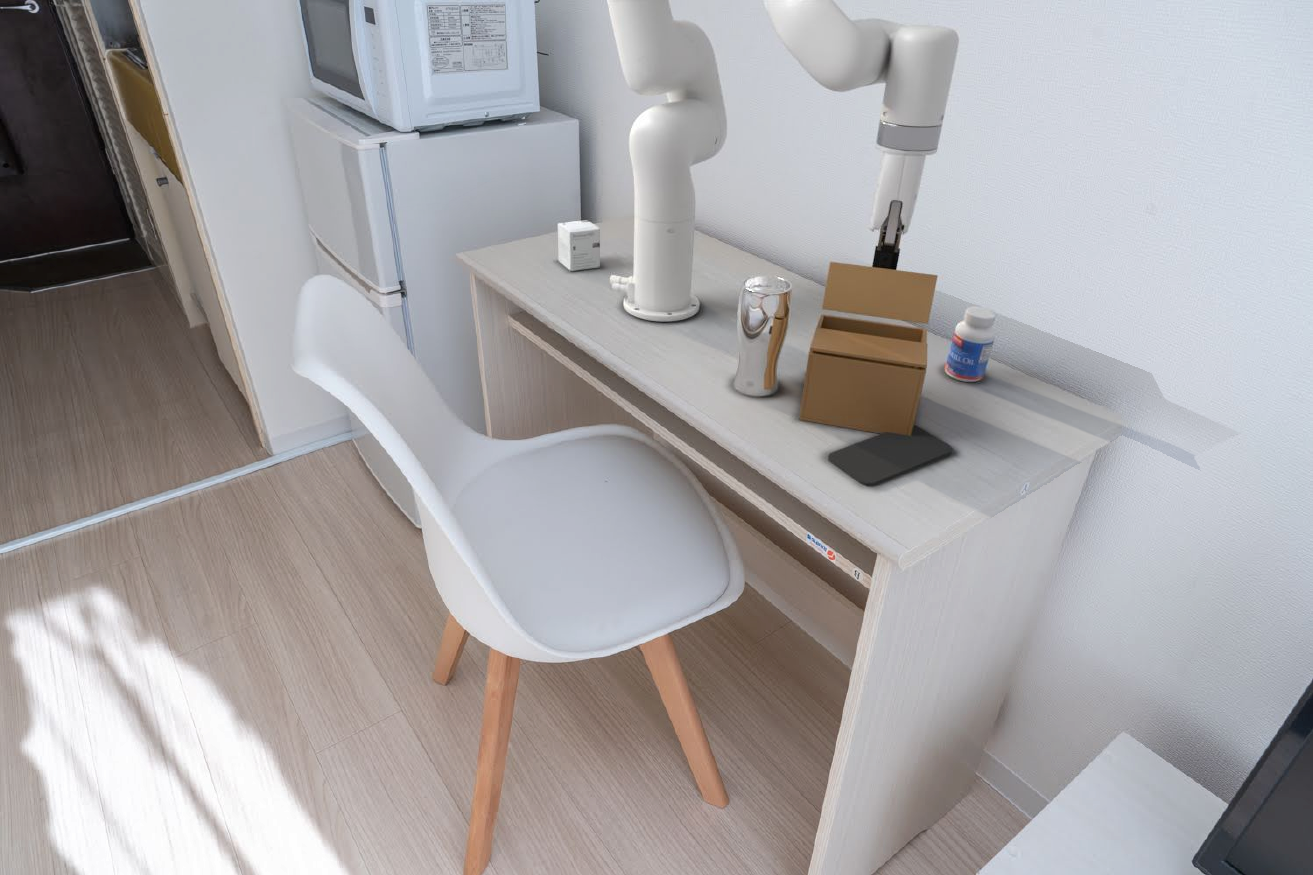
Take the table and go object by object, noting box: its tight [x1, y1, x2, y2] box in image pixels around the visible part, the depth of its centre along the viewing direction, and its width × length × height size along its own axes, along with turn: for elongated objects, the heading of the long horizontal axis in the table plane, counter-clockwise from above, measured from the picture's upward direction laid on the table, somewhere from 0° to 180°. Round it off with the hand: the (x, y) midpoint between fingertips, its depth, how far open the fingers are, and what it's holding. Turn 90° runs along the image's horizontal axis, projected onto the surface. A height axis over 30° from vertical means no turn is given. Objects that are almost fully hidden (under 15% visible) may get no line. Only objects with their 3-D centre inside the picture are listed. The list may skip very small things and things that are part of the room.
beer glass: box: [733, 274, 793, 398], centre depth 107 cm, size 7×7×15 cm
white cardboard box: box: [557, 219, 601, 272], centre depth 147 cm, size 6×6×7 cm
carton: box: [798, 313, 928, 436], centre depth 105 cm, size 13×14×10 cm
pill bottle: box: [944, 306, 997, 383], centre depth 113 cm, size 6×5×10 cm
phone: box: [827, 424, 954, 487], centre depth 97 cm, size 7×1×15 cm
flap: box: [821, 261, 938, 325], centre depth 107 cm, size 6×14×1 cm
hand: (882, 277), depth 110 cm, fingers closed
